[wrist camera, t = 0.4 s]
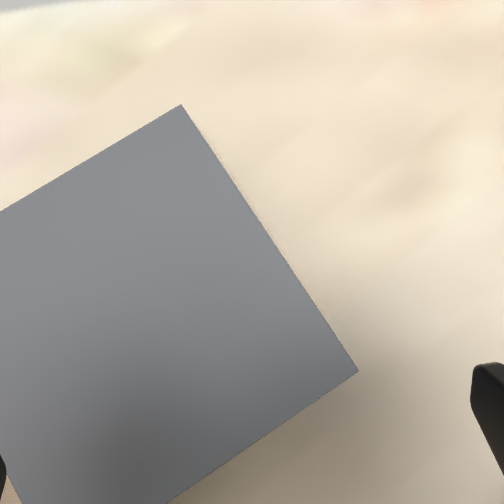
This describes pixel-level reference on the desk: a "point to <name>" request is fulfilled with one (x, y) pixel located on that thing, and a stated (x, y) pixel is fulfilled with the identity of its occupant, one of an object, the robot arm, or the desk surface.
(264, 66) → the desk surface
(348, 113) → the desk surface
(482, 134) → the desk surface
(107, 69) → the desk surface
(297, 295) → the base block
